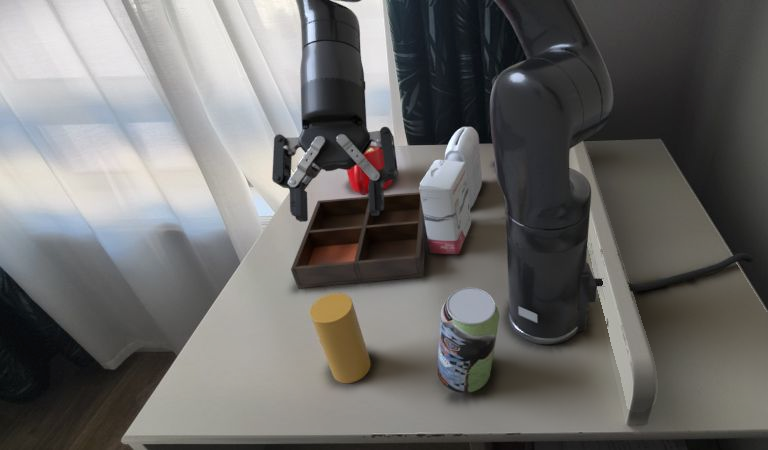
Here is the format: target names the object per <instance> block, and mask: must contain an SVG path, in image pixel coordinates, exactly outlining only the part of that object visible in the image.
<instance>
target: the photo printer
mask: <svg viewBox="0 0 768 450" xmlns="http://www.w3.org/2000/svg"><path fill="white" fill-rule="evenodd" d="M444 160H448V161H460V162H465V163H466V173H467V184H468V195H469V205H470V210H471V209H472V207H473V206H474V205H475V203H476V201H477V198H478V196H479V193H480V191H481V189H482V184H483V177H482V176H483V175H482V164H481V149H480V137H479V133H478V132H477V130H476V129H475V128H474V127H472V126H462V127H460V128H459V129H457V130H456V131H455V132H454V133H453V134H452V136H451V138H450V140H449V141H448V143H447V146H446V148H445V153H444Z"/></svg>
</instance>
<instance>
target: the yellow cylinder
mask: <svg viewBox="0 0 768 450" xmlns="http://www.w3.org/2000/svg"><path fill="white" fill-rule="evenodd" d="M309 316H310V318H311V321H312V323H313V326H314V328H315V331H316V334H317V336H318V340H319V342H320V345H321V347H322V350H323V352H324V355H325V358H326V361H327V363H328V366H329V368H330V371H331V374H332V377H333V378H334V379H335V381H337V382H339V383H341V384H352V383H355V382H358V381H360V380H362V379H363V378H364V377H365V376H366V375H367V374H368V373H369V371H370V369H371V363H372V362H371V359H370V355H369V352H368V349H367V346H366V342H365V339H364V335H363V332H362V329H361V326H360V322H359V319H358V316H357V313H356V309H355V305H354V303H353V300H352V298H351V297H350V295H348V294H346V293H342V292H341V293H340V292H335V293H328V294H326V295H324V296H322V297H320V298H319V299H317V300H316V301H315V302H314V303H313V304H312V305H311V307H310V310H309Z"/></svg>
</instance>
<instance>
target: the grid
mask: <svg viewBox="0 0 768 450" xmlns="http://www.w3.org/2000/svg"><path fill="white" fill-rule="evenodd" d="M383 195H384V208H383V210H381V211H379V216H372V215H371V214H370V210H369V195H368V196H357V197H347V198H335V199H323V200H317V202H316V205H315V207H314V210H313V212H312V215H311V217H310V220H309V222H308V225H307V227H306V230H305V231H304V235H303V236H302V237H303V238H302V240H301V242H300V245H299V248H298V250H297V252H296V255H295V258H294V260H293V262H292V265H291V268H290V271H291V274H292V276H293V279H294V281H295V284H296V287H297V289H307V288H319V287H328V286H339V285H340V286H341V285H349V284H350V285H351V284H361V283H363V284H364V283H372V282H381V281H382V282H385V281H393V280H404V279H405V280H406V279H415V278H424V271H425V270H424V269H425V252H426V251H425V249H426V235H427V231H426V225H425V219H424V213H423V208H422V202H421V197H420V191H416V192H404V193H394V194H393V193H392V194H383Z"/></svg>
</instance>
